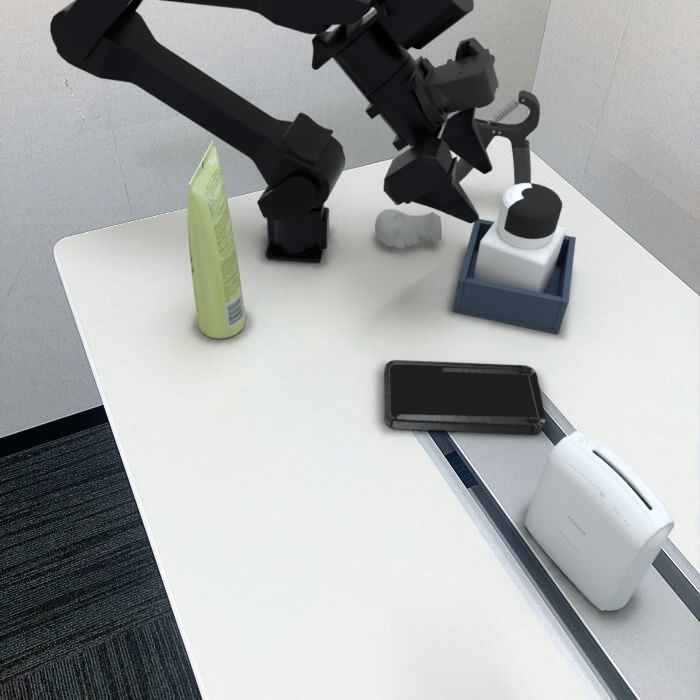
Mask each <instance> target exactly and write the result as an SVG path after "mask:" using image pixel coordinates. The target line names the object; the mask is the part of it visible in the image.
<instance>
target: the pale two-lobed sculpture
mask: <svg viewBox="0 0 700 700" xmlns="http://www.w3.org/2000/svg"><path fill="white" fill-rule="evenodd" d="M442 227H443V226H442V219H441V216H440V215H438V214H437V213H435V212H434V211H431V212H429V213H427V214H424V215H423V214H422V215H410V214H408V213H405V212H404V211H401V210H398V209H393V208H387V209H385V210H382V211H381V212H379V214H378V215H377V216H376V218H375V222H374V232H375V235H376V237H377V238H378V240H379V241H380V242H381V243H382V244H383V245H385V246H386V247H388V248H394V247H395V248H396V249H399V250H404V249H405V248H409V247H412V246H417V245H418V244H419V243H420V240H427V241H430V242H431V243H433V244H436V243H438V242H440V241H442V238H443V237H442V236H443V230H442Z"/></svg>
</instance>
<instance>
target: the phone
mask: <svg viewBox="0 0 700 700" xmlns="http://www.w3.org/2000/svg"><path fill="white" fill-rule="evenodd" d="M383 381H384V382H383V384H384V385H383V386H384V387H383V388H384V389H383V390H384V391H383V392H384V393H383V394H384V395H383V396H384V399H383V400H384V422H385V424H386V425H387V426H389V427H390V428H392V429H397V430H418V431H419V430H420V431H421V430H422V431H445V432H471V433H494V434H495V433H497V434H517V435H518V434H519V435H522V434H523V435H537V434H539V433H541V432H542V430H543V428H544V426H545V423H546V414H545V408H544V404H543V399H542V393H541V388H540V384H539V383H540V382H539V377H538V374H537V372H536V370H535V369H534V368H533V367H531V366H530V365H526V364H525V365H524V364H503V363H481V362H480V363H479V362H458V361H457V362H455V361H454V362H453V361H431V360H409V359H406V360H405V359H392V360H389V361H388V362H387V363H386V364H385V366H384V373H383Z"/></svg>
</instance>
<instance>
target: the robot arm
mask: <svg viewBox="0 0 700 700" xmlns="http://www.w3.org/2000/svg"><path fill="white" fill-rule="evenodd" d="M160 1H161V2H162V1H163V2H173V3H180V4H190V5H198V6H199V5H201V6H209V7H216V8H226V9H235V10H246V11H249V12H253V13H256V14H258V15H260V16H262V17H263V18H265V19H266V20H268V21H269V22H270V23H271V24H273V25H275V26H279V27H281V28H285V29H289V30H292V31H295V32H299V33H302V34H306V35H314V36H313V38H312V39H311V45H312V59H311V68H312V70H314V71H317V70H319V69H320V68H322V67H323V66H325V64H326V63H328V62H329V61H330V60H332V59H333V61H334V62H335V63H336V64H337V65H338V67H339V68H340V70H342V72H343V73H344V74H345V75H346V77H347V78H348V79H349V80H350V81H351V82H352V83H353V85H354V86H355V87H356V89H357V90H358V91H359V92H360V94H361V95H362V96H363V97H364V99H366V101H367V103H368V104H367V107H366V109H365V111H364V112H365V113H366V115H368V117H369V118H370V119H371V120H374V118H376V117H377V116H378V115H379V116H380V118H381V119H382V120H383V122H384V123H385V124H386V125H387V126H388V127H389V128H390V130H391V131H392V132H393V134H394V135H395V137H394V139H393V141H392V143H391V144H392V146H393V147H394V148H395V150H397V152H400V151H402V150H403V149H405V148H407V147H408V146H409V147H410V148H408V149H407V150H405V151H404V152H402V153H401V154H399V155H398V156H396V157H395V158H393V159H392V161H391V162H390V165H389V167H388V170H387V172H386V173H385V176H384V178H383V179H384V180H383V188H382V189H383V192H384V193H385V194H386V196H388V198H389V199H390V200H391V201H392V202H393V203H394V205H396V206H400V205H401V204H405V205H409V204H411V203H414V204H418V205H421V206H425V207H427V208H430V209H434V210H436V211H438V212H441V213H443V214H445V215H448V216H451V217H453V218H455V219H458V220H460V221H463V222H465V223H468V224H474V222H475V221H477V220H478V219H480V215H479V213H478V212H477V210H476V207H475V206H474V204H473V202H472V201H471V200H470V197H469V196H468V195H467V192H466V191H465V190H464V188H463V187H462V185H461V182H458V180H457V179H456V177H455V171H456V165H457V162H458V158H459V159H460V158H461V159H463V160H464V161H465V162H467V163H468V164H469V165H471V166H472V167H474V168H473V169H475V170H477V171H478V172H480V173H481V174H483V175H487V174H489V173H490V172H492V171H493V168H494V167H493V164H492V162H491V159H490V156H489V154H488V152H487V149H485V146H484V144H483V141H482V138H481V136H480V133H479V130H478V127H477V124H476V122H475V118H476V117H475V116H476V110H477V109H481V108H485V107H487V106H489V105H491V104H492V103H493V102H494V101H495V99H496V92H497V89H498V88H499V85H500V84H499V81H498V77H497V73H496V69H495V67H494V65H495V63H496V57H495V55H493V54H491V52H490V50H489V48H485V47H483V45H481V43H480V42H479V41H478V40H477V39H476V38H475V37H473V36H472V37H470V38H466V39H463V40H460V41H459V43H458V45H457V48H456V51H455V56H454V60H453V59H452V58H448V59H447V60H446V63H444V64H441V65H438V66H435V65H433V64H432V62H431V61H430V60H429V58H427V57H423V56H422V55H420V56H419V57H418V58H416V59H414V57H413V56H412V55H411V53H410V52H409V50H410V49H415V50H422V49H423V48H425V47H426V46H427V45H429V44H431V42H433V41H434V40H436V39H437V38H438V37H440V36H441V35H443V34H444V33H445V32H446V31H448V30H449V29H450V28H452V27H453V26H455V24H457V23H458V22H459V21H461V20H462V19H464V18H465V17H467V15H469V14H470V13H471V12H473V11H474V8H475V2H474V0H160ZM143 2H144V0H73V1H72V2H70V3H69V4H68V5H66V6H65V7H63V8H61V10H59V11H58V12H57V13H55V14H54V15H53V16H52V19H51V20H50V22H49V23H50V24H49V25H50V26H49V32H50V36H51V40H52V43H53V44H54V46H55V48H56V50H55V51H56V53H57V54H58V55H59V57H60V58H61V59H62V60H63V61H65V62H66V63H68V64H69V65H70V66H72V67H74V68H76V69H78V70H81V71H83V72H85V73H87V74H90V75H92V76H94V77H96V78H98V79H101V80H108V81H109V80H110V81H115V82H122V83H128V84H132V85H135V86H136V87H138V88H140V89H141V90H142V91H144V92H145V93H147V94H149V95H150V96H152V97H153V98H155V99H157V100H158V101H159V102H161V103H163V104H165V105H166V106H168V107H169V108H171V109H172V110H173V111H176V112H177V113H179V114H180V115H182V116H183V117H185V118H187V119H188V120H190V121H191V122H193V123H194V124H196V125H197V126H199V127H200V128H202V129H204V131H207V132H209V133H210V134H212V135H213V136H215V137H216V138H218V139H219V140H220V141H222V142H224V143H225V144H227V145H229V146H230V147H232V148H234V149H235V150H237V151H238V152H239V153H241V154H243V155H245V157H247V158H249V159H250V160H251V161H252V162H253V163H254V165H255V167H256V168H257V170H258V172H259V173H260V175H261V177H262V178H263V180H264V182H265V183H266V185H267V186H266V187H265V189H264V191H263V192H262V193H261V195H260V197H259V198H258V200H257V202H256V203H257V206H258V209H259V211H260V213H261V216H262V217H263V218H264V219H266V228H267V229H266V231H267V232H266V233H267V245H266V249H265V253H264V254H265V255H264V256H265V259H267V260H277V261H290V262H301V263H315V264H319V263H321V262H322V260H323V259H322V258H323V252H324V250H326V249H327V248H328V244H329V238H330V237H329V236H330V208H329V206H328V207H326V206H325V204H326V202H327V201H328V199H329V198H330V195H331V194H332V191H333V190H334V188H335V186H336V184H337V183H338V180H340V178H341V175H342V173H343V171H344V170H345V166H346V155H345V152H344V147H343V145H342V143H341V142H340V141H339V140H338V139H336V138H335V137H334V136H333V134H334V130H333V129H331V128H326V127H324V126H323V125H320V124H319V123H317V122H316V121H315V120H314V119H312V117H310V116H309V115H308V114H306V113H304V112H299V113H298V114H297V115H296V116H295V118H294V120H293V121H290V120H283V119H278V118H276V117H273V116H271V115H270V114H269V113H267V112H265V111H264V110H262V109H261V108H260V107H257V106H256V105H255V104H253V103H252V102H250V101H248V99H246V98H245V97H243V96H241V95H239V94H238V93H236V92H234V91H233V90H232V89H230V88H229V87H227V86H226V85H224V84H223V83H221V82H220V81H218V80H216V79H215V78H213V77H212V76H210V75H209V74H208V73H206V72H205V71H203V70H201V69H199V68H198V67H197V66H195V65H193V64H192V63H190V62H189V61H187V60H186V59H184V58H183V57H181V56H180V55H178V54H177V53H175V52H174V51H172V50H171V49H169V48H167V47H166V46H164V45H163V44H161V43H160V42H159V41H158V40H157V39H156V37H155V36H154V35H153V33H152V31H151V29H150V28H149V26H148V24H147V22H146V21H145V19H144V17H143V16H142V15H141V14H140V13H139V12H138V11H137V10H138V8H139V7H140V6H141V5H142V3H143ZM372 8H373V9H372ZM332 26H336V27H335V28H334V29H333V30H329V29H331V27H332ZM328 30H329V31H328ZM452 153H453V154H454V155H456V156H454V157H453V155H452Z"/></svg>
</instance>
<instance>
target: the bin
mask: <svg viewBox="0 0 700 700" xmlns="http://www.w3.org/2000/svg"><path fill="white" fill-rule="evenodd" d="M494 222H495V221H493V220H487V219H481V218H479V219H478V220H477V221H475V222H474V223H473V225H472V229H471V233H470V237H469V240H468V242H467V243H468V244H467V247H466V251H465V255H464V259H463V262H462V265H461V269H460V273H459V277H458V279H457V286H456V290H455V296H454V302H453V308H452V313H455V314H461V315H465V316H469V317H470V316H471V317H475V318H480V319H484V320H489V321H494V322H499V323H503V324H508V325H512V326H517V327H521V328H526V329H531V330H537V331H541V332H546V333H551V334H555V335H559V332H560V329H561V326H562V323H563V321H564V318H565V314H566V312H567V308H568V306H569V301H570V293H571V284H572V275H573V266H574V258H575V249H576V240H577V237H576V236H572V235H567V234H565V235H564V239H563V242H562V245H561V249H560V252H559V255H558V259H557V262H556V265H555V269H554V272H553V275H552V278H551V280H550V282H549V283H548V285H547V287H546V288H545V290H544V292H543V293H539V292H534V291H530V290H525V289H520V288H515V287H510V286H505V285H500V284H495V283H491V282H486V281H481V280H476V279H473V276H474V271H475V266H476V261H477V256H478V251H479V246H480V241H481V240H482V238H483V237H484V236H485V234H486V233H487V232H488V230H489V229H490V228H491V226H492V225H493V223H494Z"/></svg>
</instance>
